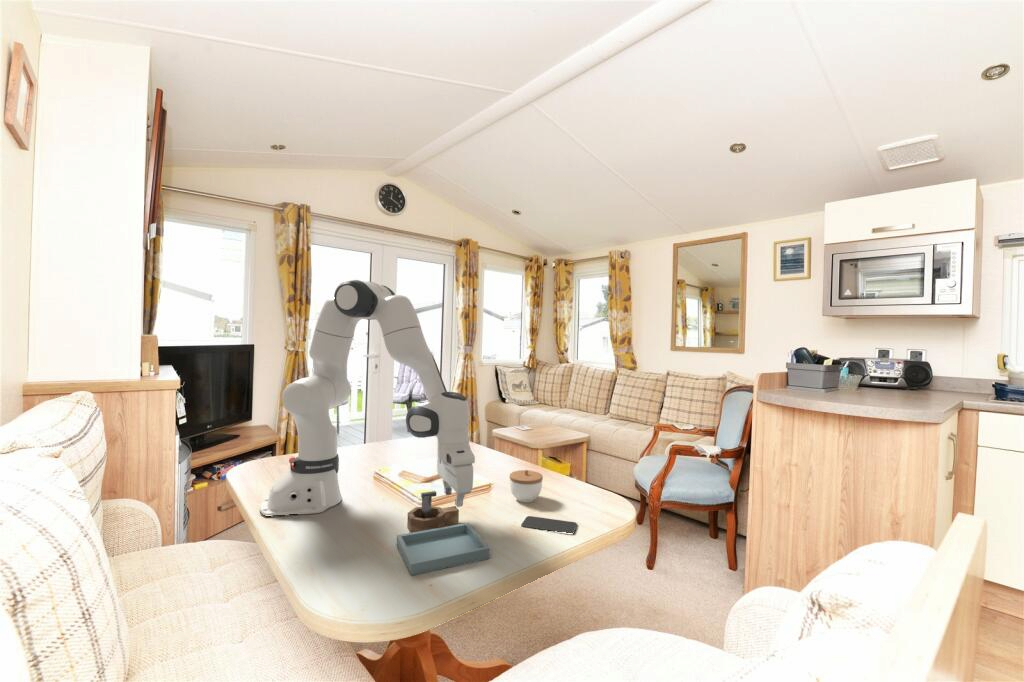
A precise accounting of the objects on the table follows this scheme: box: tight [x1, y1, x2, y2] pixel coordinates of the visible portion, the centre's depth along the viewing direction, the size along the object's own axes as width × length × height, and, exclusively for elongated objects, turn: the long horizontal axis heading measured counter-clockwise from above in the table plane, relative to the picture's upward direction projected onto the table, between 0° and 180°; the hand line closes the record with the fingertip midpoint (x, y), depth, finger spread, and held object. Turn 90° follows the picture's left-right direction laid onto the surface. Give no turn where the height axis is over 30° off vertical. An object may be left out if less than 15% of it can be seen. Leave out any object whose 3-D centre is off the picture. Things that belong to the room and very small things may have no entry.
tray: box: [395, 522, 491, 576], centre depth 110 cm, size 19×15×2 cm
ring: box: [406, 505, 460, 533], centre depth 124 cm, size 14×9×4 cm
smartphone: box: [520, 515, 578, 533], centre depth 126 cm, size 7×1×15 cm
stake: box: [420, 490, 437, 519], centre depth 123 cm, size 5×5×10 cm
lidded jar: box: [509, 469, 544, 503], centre depth 145 cm, size 11×11×9 cm
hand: (453, 499), depth 126 cm, fingers open, 8 cm apart
